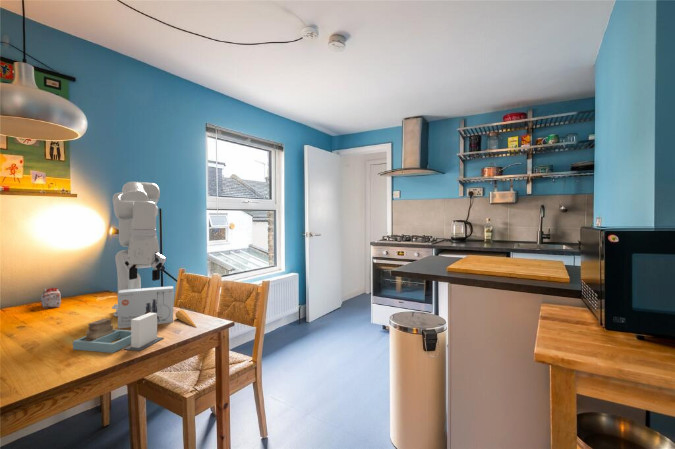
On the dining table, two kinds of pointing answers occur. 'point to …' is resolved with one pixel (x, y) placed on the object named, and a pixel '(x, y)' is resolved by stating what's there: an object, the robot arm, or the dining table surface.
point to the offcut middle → (99, 333)
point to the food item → (51, 298)
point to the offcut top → (99, 324)
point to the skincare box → (145, 304)
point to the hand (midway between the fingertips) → (144, 279)
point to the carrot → (184, 317)
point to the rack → (105, 342)
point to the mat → (144, 345)
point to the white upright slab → (143, 329)
